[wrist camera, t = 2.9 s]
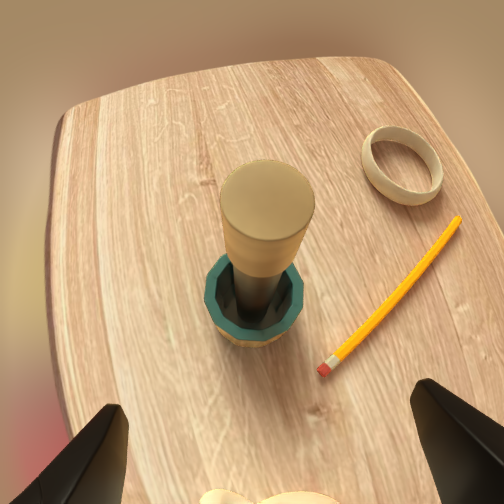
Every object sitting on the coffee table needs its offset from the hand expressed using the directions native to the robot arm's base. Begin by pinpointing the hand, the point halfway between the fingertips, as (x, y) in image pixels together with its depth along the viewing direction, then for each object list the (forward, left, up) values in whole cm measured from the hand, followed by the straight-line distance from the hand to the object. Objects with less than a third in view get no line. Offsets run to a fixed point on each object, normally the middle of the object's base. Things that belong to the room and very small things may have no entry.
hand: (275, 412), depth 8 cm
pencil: (+12, -5, -12) cm, 18 cm away
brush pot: (+4, +3, -12) cm, 13 cm away
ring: (+22, -1, -12) cm, 25 cm away
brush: (+4, +3, -12) cm, 13 cm away
